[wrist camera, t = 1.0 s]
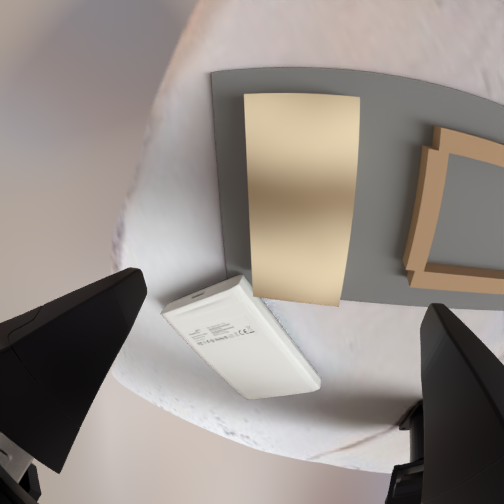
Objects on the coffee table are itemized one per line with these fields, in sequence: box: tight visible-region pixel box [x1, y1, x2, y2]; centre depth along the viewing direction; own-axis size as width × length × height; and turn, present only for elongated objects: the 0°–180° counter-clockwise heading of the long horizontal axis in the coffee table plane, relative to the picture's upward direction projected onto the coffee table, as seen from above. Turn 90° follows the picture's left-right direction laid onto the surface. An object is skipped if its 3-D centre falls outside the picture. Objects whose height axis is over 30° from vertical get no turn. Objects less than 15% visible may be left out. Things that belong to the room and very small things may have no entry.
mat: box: [211, 67, 504, 311], centre depth 13 cm, size 14×28×2 cm, turn 92°
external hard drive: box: [160, 275, 321, 399], centre depth 22 cm, size 2×8×12 cm
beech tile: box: [244, 93, 360, 307], centre depth 14 cm, size 11×5×2 cm, turn 2°
